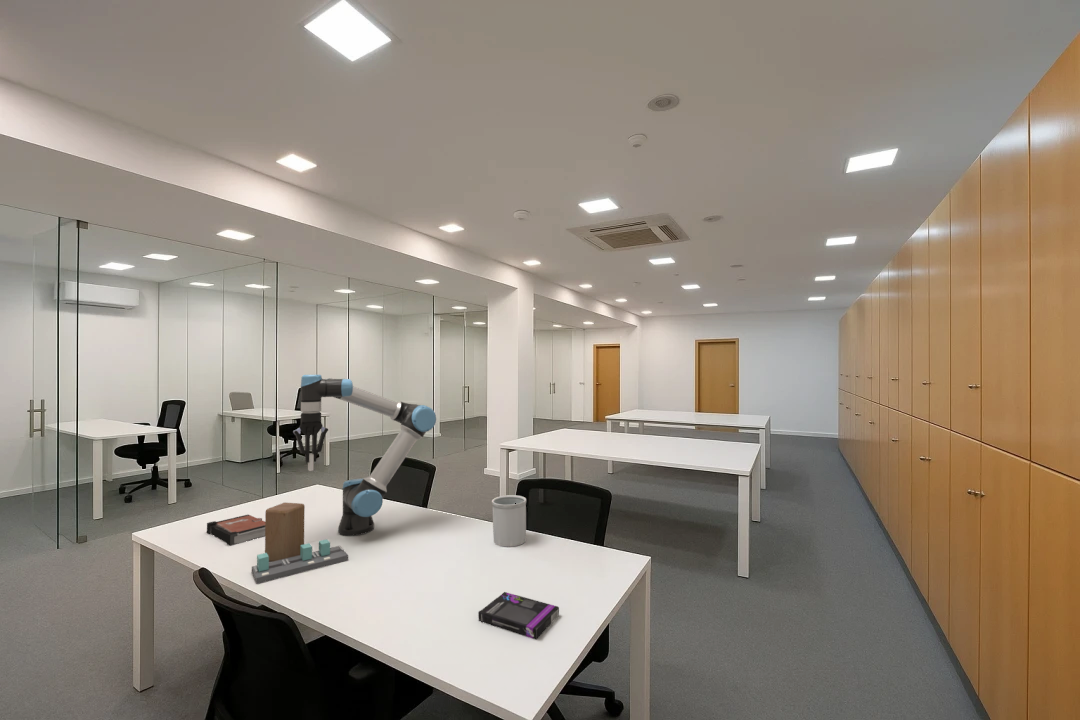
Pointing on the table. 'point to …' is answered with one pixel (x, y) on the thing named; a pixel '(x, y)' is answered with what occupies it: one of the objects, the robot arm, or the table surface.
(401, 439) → the robot arm
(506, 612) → the box
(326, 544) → the slider
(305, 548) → the slider
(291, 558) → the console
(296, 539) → the wooden block
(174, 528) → the table surface
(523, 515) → the utensil holder
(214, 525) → the book
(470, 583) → the table surface
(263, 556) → the slider
